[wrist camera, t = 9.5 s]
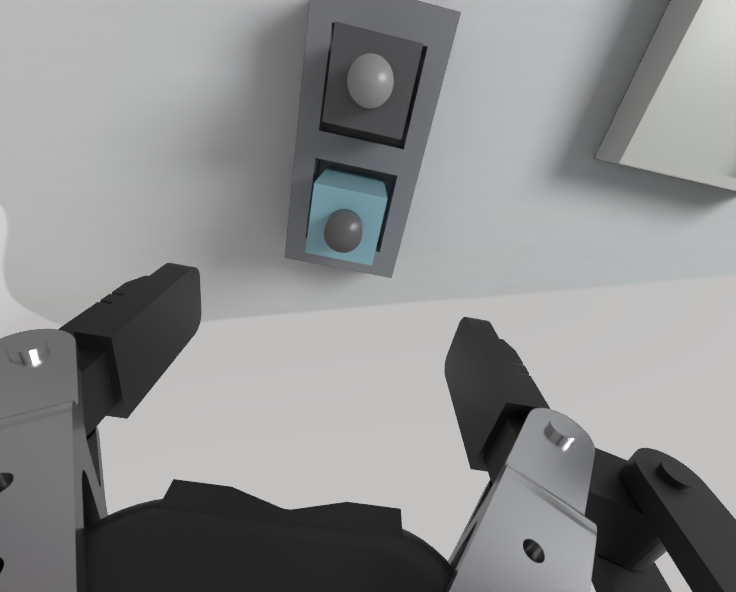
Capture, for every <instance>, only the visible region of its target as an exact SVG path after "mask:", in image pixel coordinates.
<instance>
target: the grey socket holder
mask: <svg viewBox="0 0 736 592" xmlns="http://www.w3.org/2000/svg"><path fill="white" fill-rule="evenodd" d="M460 13H461V12H459V11H455V10H451V9H447V8H443V7H440V6H436V5H432V4H428V3H425V2H421V1H417V0H310V2H309V13H308V23H307V33H306V44H305V54H304V64H303V75H302V85H301V95H300V106H299V116H298V127H297V137H296V147H295V158H294V168H293V178H292V189H291V199H290V209H289V220H288V230H287V240H286V251H285V258H289V259H295V260H300V261H305V262H310V263H316V264H321V265H326V266H331V267H337V268H342V269H347V270H352V271H358V272H363V273H368V274H373V275H379V276H384V277H389V278H392V274H393V270H394V266H395V263H396V259H397V255H398V251H399V247H400V243H401V240H402V236H403V232H404V228H405V224H406V220H407V217H408V213H409V209H410V205H411V201H412V197H413V194H414V190H415V186H416V182H417V178H418V174H419V171H420V167H421V163H422V159H423V155H424V151H425V148H426V144H427V140H428V136H429V132H430V128H431V125H432V121H433V117H434V113H435V109H436V105H437V101H438V98H439V94H440V90H441V86H442V82H443V78H444V75H445V71H446V67H447V63H448V59H449V55H450V52H451V48H452V44H453V40H454V36H455V32H456V29H457V25H458V21H459V17H460ZM335 21H337V22H341V23H344V24H348V25H352V26H356V27H360V28H364V29H368V30H372V31H376V32H380V33H384V34H388V35H392V36H396V37H400V38H404V39H408V40H411V41H415V42H419V43H423V47H422V52H421V56H420V60H419V65H418V69H417V73H416V78H415V82H414V87H413V91H412V95H411V100H410V104H409V109H408V113H407V117H406V122H405V126H404V130H403V135H402V139H396V138H392V137H387V136H383V135H379V134H374V133H370V132H365V131H361V130H357V129H352V128H348V127H343V126H339V125H335V124H330V123H326V122H322V120H323V112H324V104H325V96H326V88H327V81H328V73H329V65H330V57H331V49H332V41H333V33H334V25H335ZM328 166H332V167H336V168H341V169H345V170H350V171H354V172H359V173H364V174H368V175H373V176H377V177H382V178H383V179H384V184H385V189H386V194H387V203H386V207H385V212H384V216H383V220H382V225H381V229H380V233H379V238H378V242H377V246H376V251H375V255H374V259H373V264H372V266H371V265H366V264H361V263H356V262H351V261H346V260H341V259H336V258H331V257H325V256H320V255H315V254H310V253H305V250H306V242H307V234H308V227H309V219H310V211H311V203H312V196H313V188H314V183H315V181H316V180H317V179H318V178H319V177H320V175H321V174H322V173H323V172H324V171H325V170H326V168H327V167H328Z"/></svg>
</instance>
